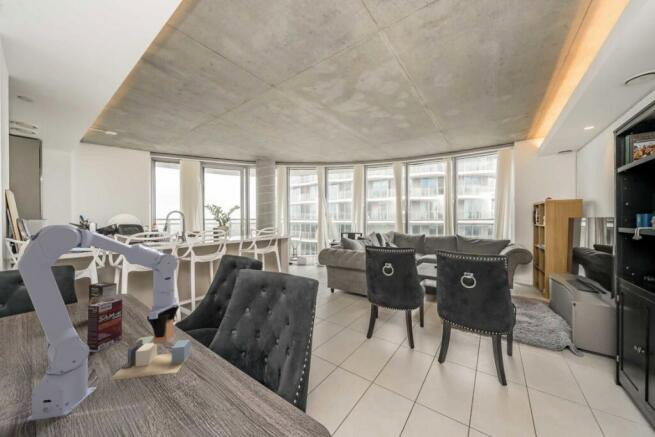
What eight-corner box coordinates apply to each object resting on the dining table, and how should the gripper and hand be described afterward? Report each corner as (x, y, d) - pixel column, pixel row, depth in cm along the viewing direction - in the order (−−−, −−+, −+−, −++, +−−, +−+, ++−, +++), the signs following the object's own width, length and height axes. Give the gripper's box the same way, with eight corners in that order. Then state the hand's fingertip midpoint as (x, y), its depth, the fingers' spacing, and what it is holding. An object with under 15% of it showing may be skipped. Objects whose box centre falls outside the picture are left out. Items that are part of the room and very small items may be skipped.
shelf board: (177, 374, 72) (177, 372, 72) (108, 382, 69) (108, 380, 69) (191, 353, 84) (191, 351, 84) (133, 358, 81) (133, 357, 81)
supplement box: (97, 353, 84) (97, 306, 85) (86, 352, 85) (86, 305, 86) (123, 341, 93) (123, 298, 93) (112, 340, 94) (112, 298, 94)
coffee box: (87, 319, 114) (88, 284, 114) (104, 314, 120) (104, 281, 121) (101, 321, 112) (101, 286, 112) (117, 316, 118) (117, 282, 118)
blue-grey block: (184, 361, 78) (184, 346, 78) (171, 362, 77) (171, 348, 77) (189, 352, 83) (189, 339, 83) (178, 354, 82) (178, 340, 82)
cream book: (148, 364, 76) (148, 350, 76) (135, 366, 75) (135, 351, 75) (156, 356, 81) (156, 342, 81) (144, 357, 80) (144, 343, 80)
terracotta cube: (166, 343, 77) (166, 325, 77) (153, 344, 77) (153, 326, 77) (173, 335, 82) (173, 319, 82) (161, 336, 82) (161, 320, 82)
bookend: (130, 367, 75) (130, 349, 75) (122, 368, 74) (122, 350, 74) (142, 356, 81) (142, 339, 81) (134, 357, 80) (134, 340, 80)
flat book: (148, 348, 89) (148, 342, 89) (133, 350, 87) (133, 345, 87) (154, 340, 94) (154, 335, 94) (139, 342, 93) (140, 337, 93)
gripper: (167, 296, 73) (167, 342, 73) (185, 284, 88) (185, 323, 87) (140, 298, 72) (140, 345, 72) (163, 285, 86) (163, 324, 86)
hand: (163, 333), depth 79 cm, fingers closed on terracotta cube, 5 cm apart
